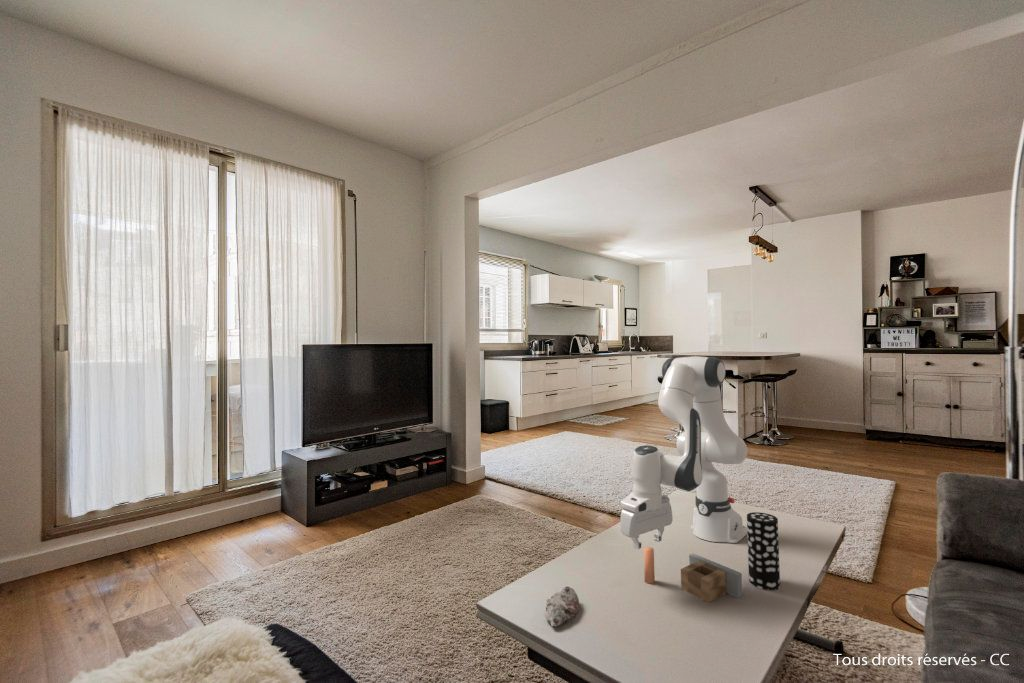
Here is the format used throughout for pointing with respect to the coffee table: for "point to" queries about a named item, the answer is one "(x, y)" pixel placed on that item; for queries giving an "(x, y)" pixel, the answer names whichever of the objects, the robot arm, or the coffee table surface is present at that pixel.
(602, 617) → the coffee table surface
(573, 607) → the mineral rock
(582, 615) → the coffee table surface
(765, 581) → the white-spotted black cylinder
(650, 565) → the orange rounded capsule
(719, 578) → the block
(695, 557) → the slab
